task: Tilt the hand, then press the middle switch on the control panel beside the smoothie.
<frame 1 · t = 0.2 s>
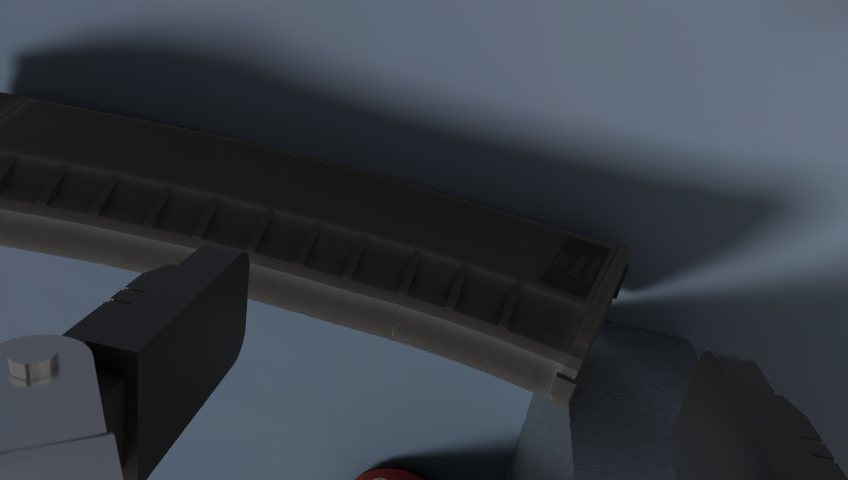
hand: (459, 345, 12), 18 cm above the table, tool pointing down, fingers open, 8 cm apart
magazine: (289, 181, 31), on the table
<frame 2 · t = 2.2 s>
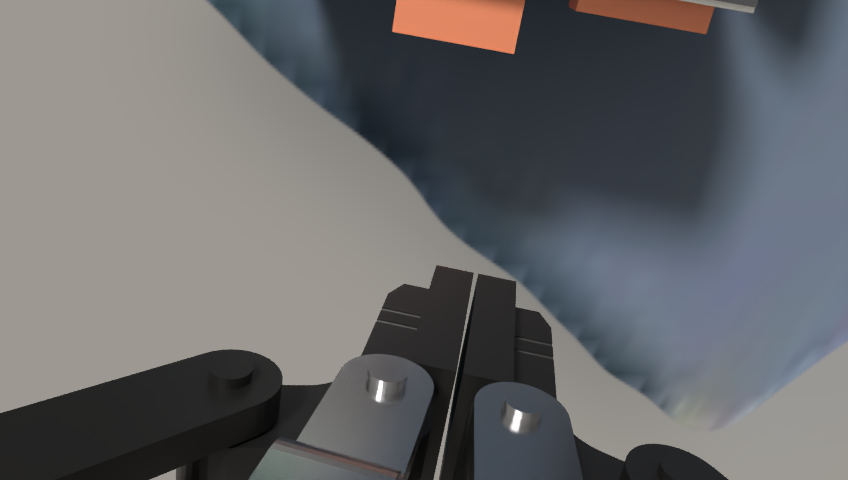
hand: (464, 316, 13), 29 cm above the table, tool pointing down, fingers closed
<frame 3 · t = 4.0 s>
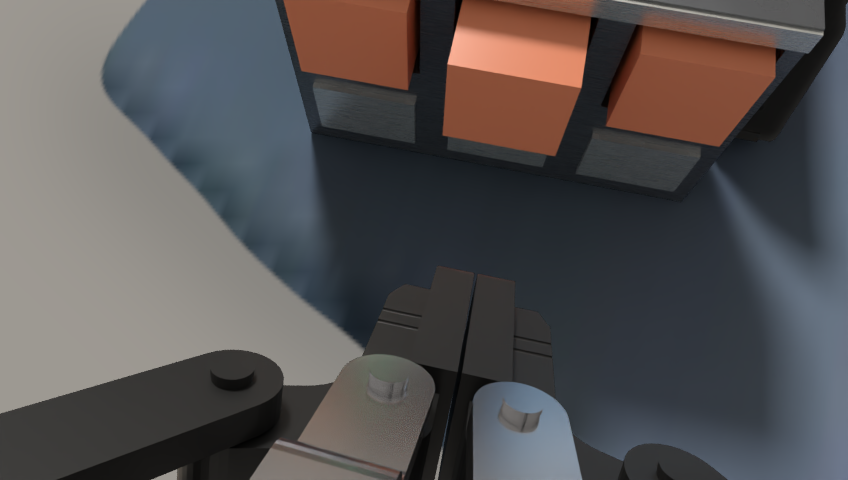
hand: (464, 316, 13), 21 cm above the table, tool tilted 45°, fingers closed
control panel: (501, 121, 39), on the table
switch 2: (515, 64, 28), point 10 cm above the table, slide at 0.0 cm
switch 1: (686, 55, 28), point 10 cm above the table, slide at 2.0 cm
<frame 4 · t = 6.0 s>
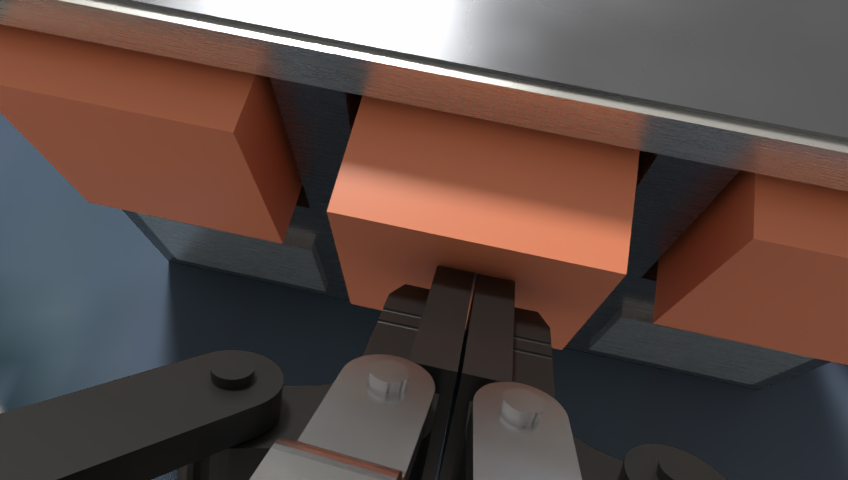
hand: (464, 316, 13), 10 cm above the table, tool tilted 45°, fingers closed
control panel: (471, 245, 25), on the table
switch 2: (485, 182, 14), point 10 cm above the table, slide at 0.9 cm, touching gripper
switch 3: (190, 78, 15), point 10 cm above the table, slide at 2.0 cm
switch 1: (820, 204, 14), point 10 cm above the table, slide at 2.0 cm
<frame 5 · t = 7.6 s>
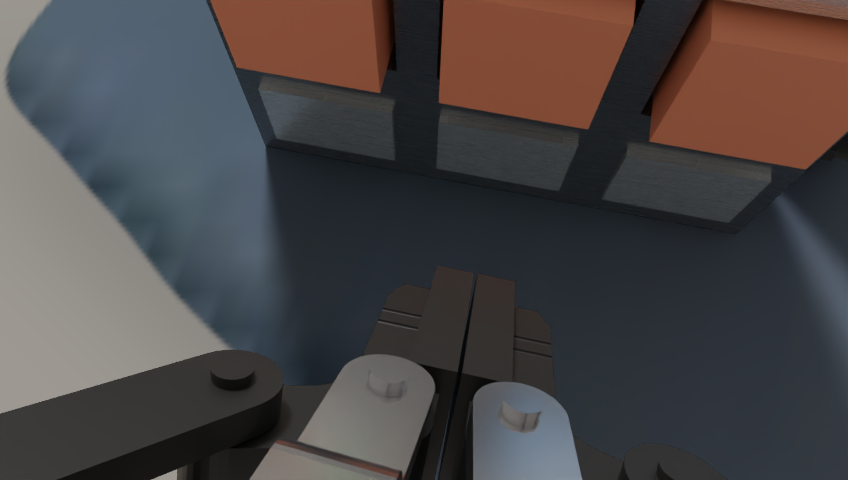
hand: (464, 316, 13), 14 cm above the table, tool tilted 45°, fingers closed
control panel: (505, 131, 31), on the table
switch 2: (535, 4, 21), point 10 cm above the table, slide at 2.0 cm
switch 1: (764, 43, 20), point 10 cm above the table, slide at 2.0 cm
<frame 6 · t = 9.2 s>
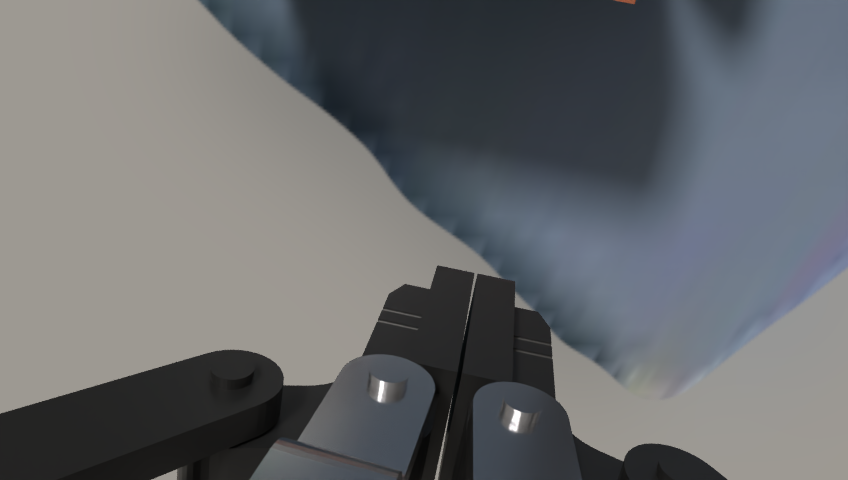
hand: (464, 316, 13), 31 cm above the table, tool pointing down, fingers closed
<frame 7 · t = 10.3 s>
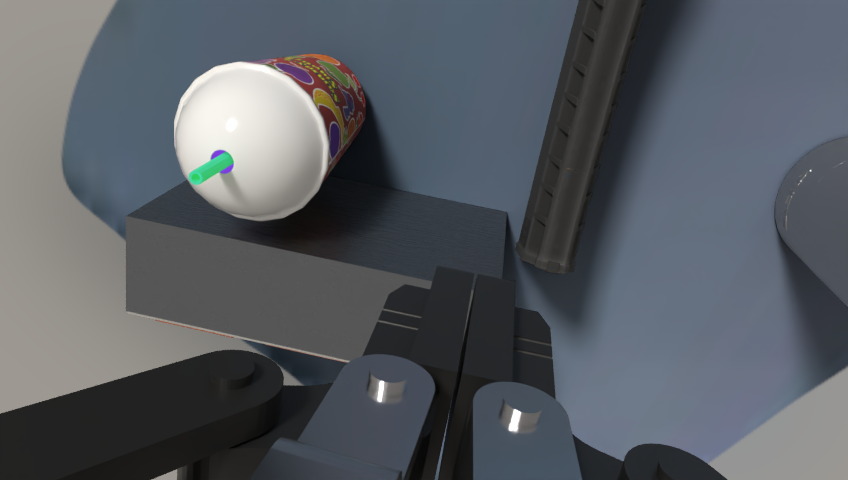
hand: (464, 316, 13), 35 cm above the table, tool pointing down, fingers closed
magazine: (594, 33, 44), on the table
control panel: (360, 221, 50), on the table
switch 2: (321, 298, 42), point 10 cm above the table, slide at 2.0 cm
smoothie: (324, 100, 48), on the table
switch 3: (213, 275, 42), point 10 cm above the table, slide at 2.0 cm
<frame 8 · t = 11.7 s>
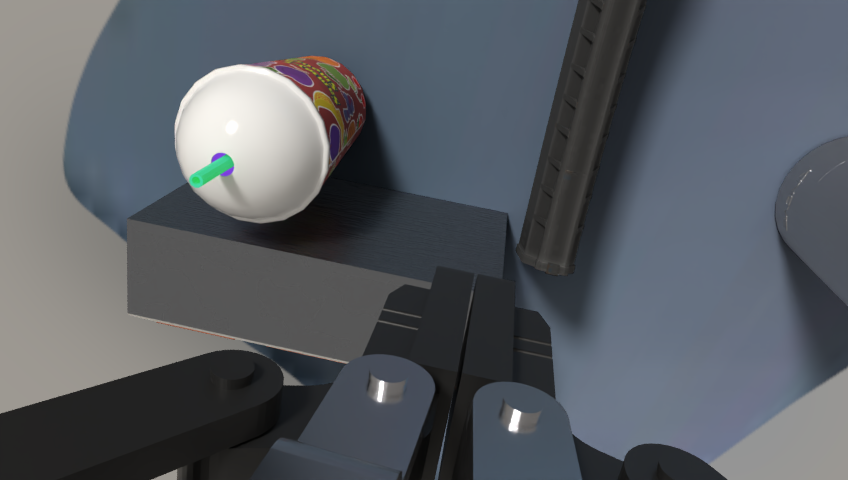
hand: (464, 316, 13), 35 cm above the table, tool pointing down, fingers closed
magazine: (593, 35, 44), on the table
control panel: (361, 222, 50), on the table
switch 2: (322, 300, 42), point 10 cm above the table, slide at 2.0 cm
smoothie: (324, 102, 48), on the table
switch 3: (214, 277, 42), point 10 cm above the table, slide at 2.0 cm
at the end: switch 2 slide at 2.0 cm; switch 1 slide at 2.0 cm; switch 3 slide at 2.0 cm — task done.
